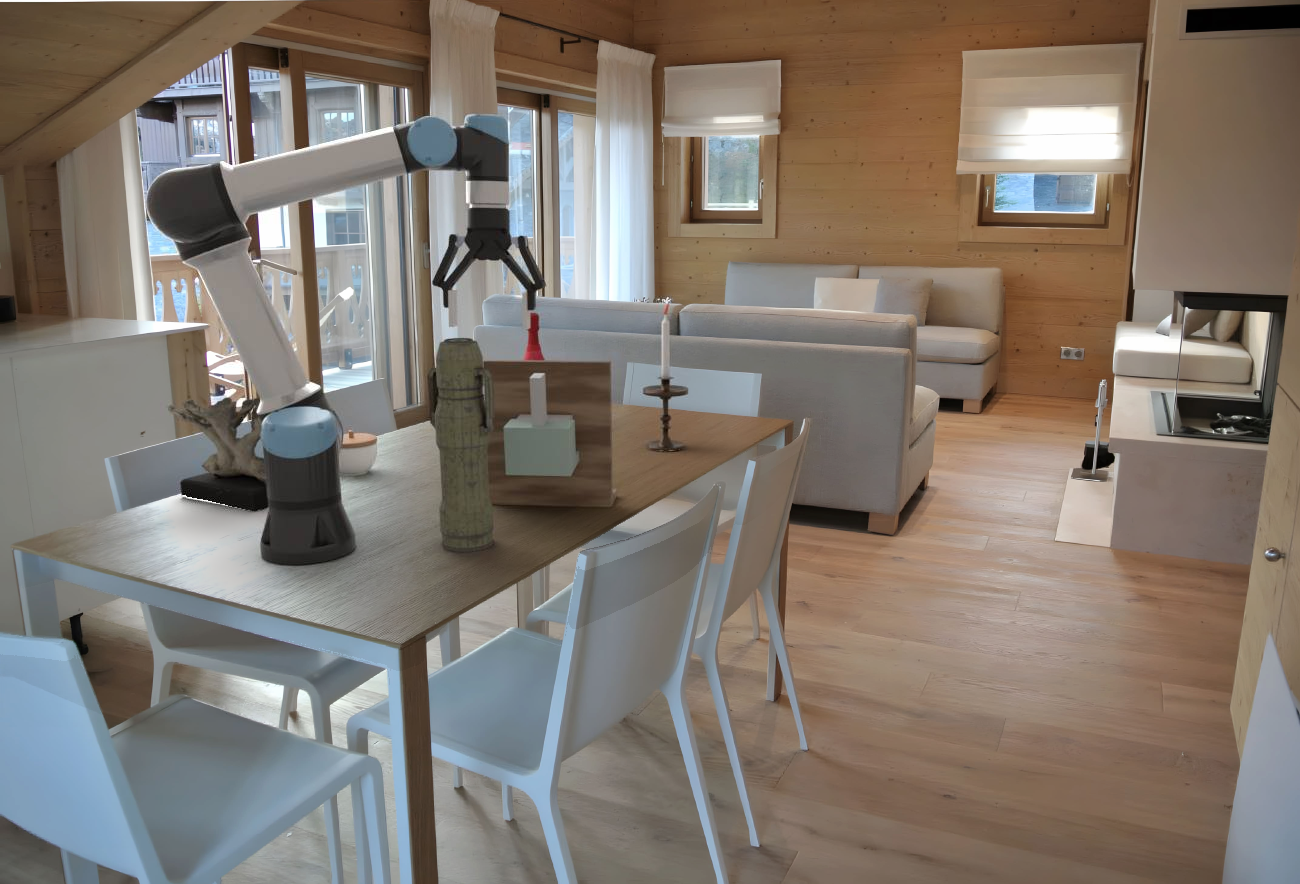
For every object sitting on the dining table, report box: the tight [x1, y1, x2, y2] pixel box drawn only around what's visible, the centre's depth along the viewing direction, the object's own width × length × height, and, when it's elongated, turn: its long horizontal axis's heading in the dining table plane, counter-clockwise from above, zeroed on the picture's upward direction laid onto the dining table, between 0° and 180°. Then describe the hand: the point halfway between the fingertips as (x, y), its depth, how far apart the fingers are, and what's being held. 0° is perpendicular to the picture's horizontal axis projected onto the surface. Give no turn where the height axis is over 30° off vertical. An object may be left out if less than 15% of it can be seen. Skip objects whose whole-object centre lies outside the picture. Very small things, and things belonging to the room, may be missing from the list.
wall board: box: [483, 359, 618, 508], centre depth 194 cm, size 11×24×28 cm, turn 84°
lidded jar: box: [339, 430, 378, 477], centre depth 220 cm, size 11×11×9 cm
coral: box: [166, 396, 268, 513], centre depth 197 cm, size 25×20×22 cm
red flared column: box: [522, 312, 546, 360], centre depth 267 cm, size 10×10×30 cm
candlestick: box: [642, 301, 689, 451], centre depth 240 cm, size 11×11×35 cm
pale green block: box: [503, 373, 579, 476], centre depth 186 cm, size 9×12×18 cm
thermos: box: [426, 337, 495, 553], centre depth 169 cm, size 9×12×35 cm
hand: (489, 327), depth 182 cm, fingers open, 13 cm apart
